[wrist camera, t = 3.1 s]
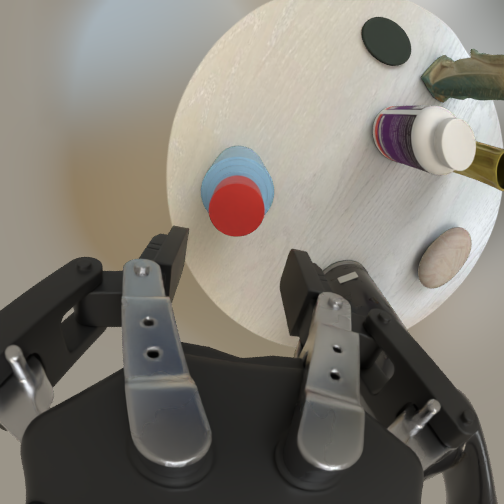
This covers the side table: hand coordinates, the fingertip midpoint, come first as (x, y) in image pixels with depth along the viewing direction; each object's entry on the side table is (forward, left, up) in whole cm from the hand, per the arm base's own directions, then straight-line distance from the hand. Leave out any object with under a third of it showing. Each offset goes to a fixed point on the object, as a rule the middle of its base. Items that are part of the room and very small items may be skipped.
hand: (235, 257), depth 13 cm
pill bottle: (+11, -20, -25) cm, 34 cm away
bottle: (0, 0, -25) cm, 25 cm away
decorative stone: (-4, -37, -25) cm, 45 cm away
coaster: (+25, -16, -25) cm, 38 cm away
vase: (+12, -30, -25) cm, 41 cm away
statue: (+24, -26, -25) cm, 43 cm away
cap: (0, 0, -10) cm, 10 cm away
